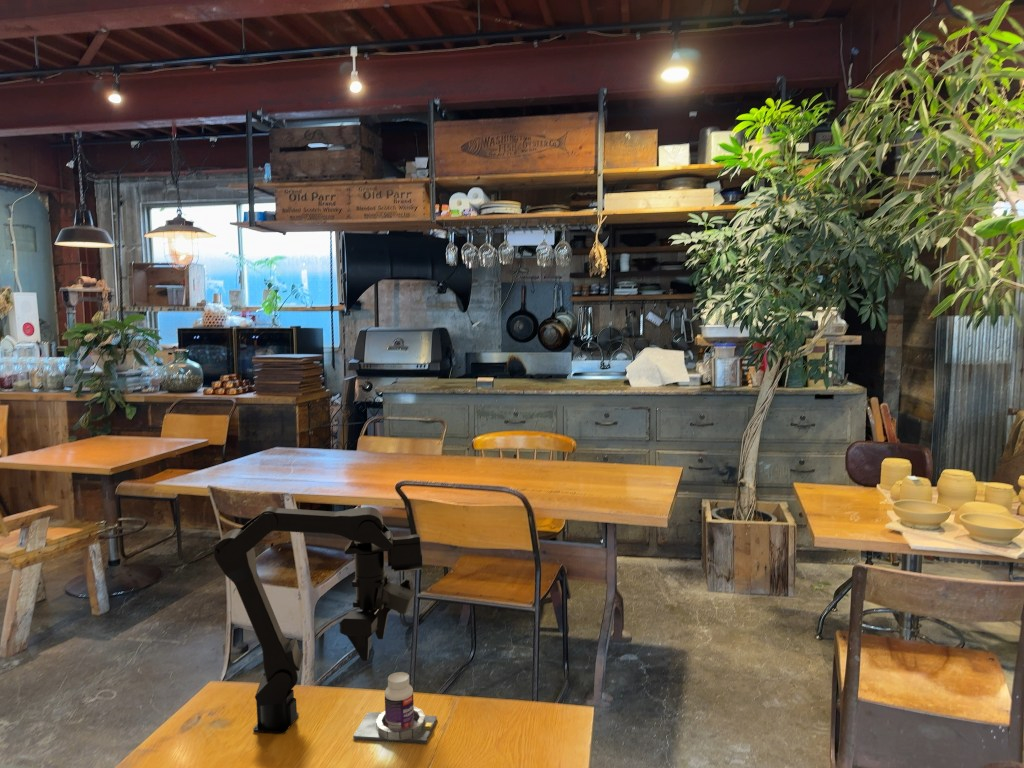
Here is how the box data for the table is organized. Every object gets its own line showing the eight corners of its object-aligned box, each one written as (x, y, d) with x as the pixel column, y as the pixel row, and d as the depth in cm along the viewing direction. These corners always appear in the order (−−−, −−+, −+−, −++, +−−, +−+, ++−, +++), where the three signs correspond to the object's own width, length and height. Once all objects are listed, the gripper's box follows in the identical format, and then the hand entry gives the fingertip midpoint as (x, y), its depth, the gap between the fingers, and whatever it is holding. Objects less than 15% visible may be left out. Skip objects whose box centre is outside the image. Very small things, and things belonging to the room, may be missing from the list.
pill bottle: (408, 735, 127) (406, 685, 126) (381, 732, 128) (379, 683, 127) (418, 719, 132) (416, 671, 131) (392, 716, 133) (390, 668, 132)
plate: (353, 739, 127) (353, 735, 127) (368, 715, 135) (367, 711, 135) (426, 744, 125) (426, 740, 125) (436, 719, 133) (436, 715, 133)
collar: (370, 738, 126) (369, 730, 126) (385, 711, 135) (385, 704, 135) (425, 742, 125) (425, 734, 125) (437, 714, 134) (437, 707, 134)
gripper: (395, 592, 124) (398, 674, 125) (422, 558, 142) (424, 630, 144) (336, 590, 125) (340, 672, 127) (371, 556, 144) (373, 628, 145)
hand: (373, 649), depth 135 cm, fingers open, 9 cm apart
